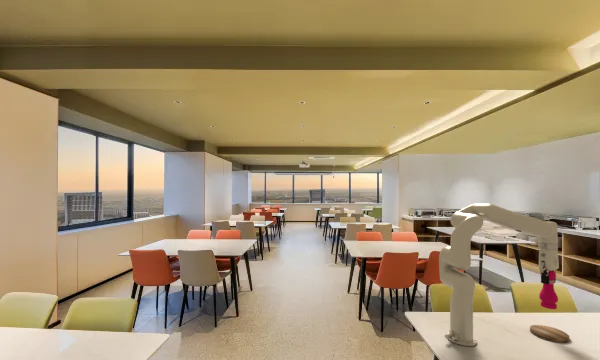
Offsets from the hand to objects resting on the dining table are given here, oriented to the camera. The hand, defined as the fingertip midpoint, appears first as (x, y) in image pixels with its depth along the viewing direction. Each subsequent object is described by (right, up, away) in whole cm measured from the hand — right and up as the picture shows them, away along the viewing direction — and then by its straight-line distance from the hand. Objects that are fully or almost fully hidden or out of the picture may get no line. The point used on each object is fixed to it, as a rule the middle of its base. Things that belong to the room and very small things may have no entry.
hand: (548, 282), depth 148 cm
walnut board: (0, -26, -1) cm, 26 cm away
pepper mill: (0, -12, 0) cm, 12 cm away
